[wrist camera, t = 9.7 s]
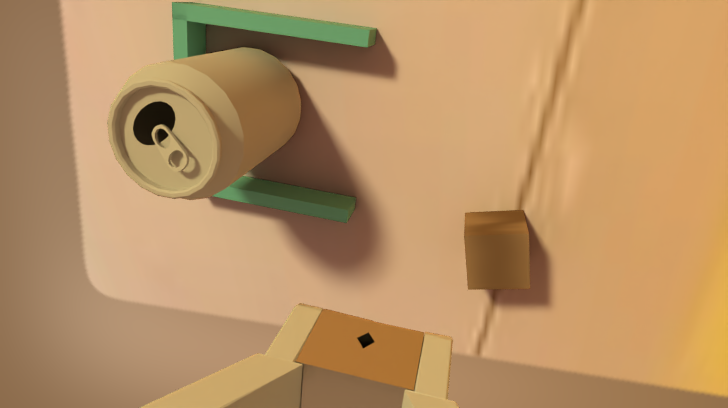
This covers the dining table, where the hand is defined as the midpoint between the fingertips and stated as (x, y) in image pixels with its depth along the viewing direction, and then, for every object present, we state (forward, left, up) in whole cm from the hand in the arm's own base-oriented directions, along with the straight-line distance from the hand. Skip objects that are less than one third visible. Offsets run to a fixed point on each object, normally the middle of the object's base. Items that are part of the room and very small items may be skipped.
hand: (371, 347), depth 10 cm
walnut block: (-5, +9, -26) cm, 28 cm away
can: (+13, +2, -26) cm, 29 cm away
